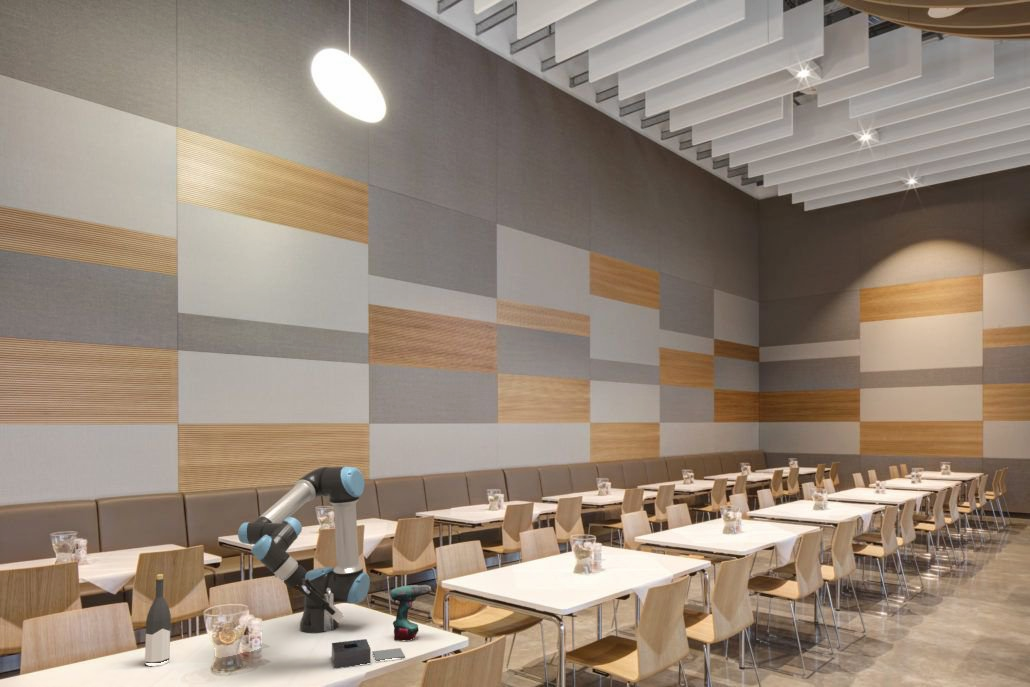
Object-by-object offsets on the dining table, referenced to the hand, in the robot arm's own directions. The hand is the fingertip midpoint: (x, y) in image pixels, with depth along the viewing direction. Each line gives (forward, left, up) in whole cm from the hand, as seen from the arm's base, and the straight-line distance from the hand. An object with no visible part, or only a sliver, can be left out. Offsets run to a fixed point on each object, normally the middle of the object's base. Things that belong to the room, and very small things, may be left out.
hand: (340, 617), depth 247 cm
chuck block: (-1, +4, -15) cm, 15 cm away
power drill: (-18, +28, -15) cm, 36 cm away
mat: (-1, +17, -15) cm, 22 cm away
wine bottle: (-25, -60, -15) cm, 67 cm away
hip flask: (0, -4, -4) cm, 5 cm away
